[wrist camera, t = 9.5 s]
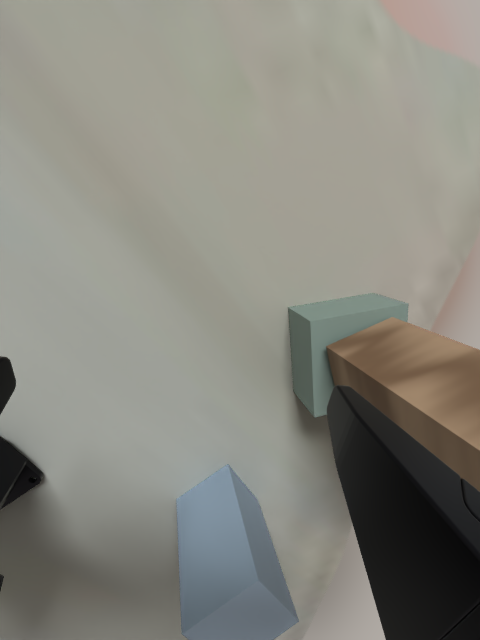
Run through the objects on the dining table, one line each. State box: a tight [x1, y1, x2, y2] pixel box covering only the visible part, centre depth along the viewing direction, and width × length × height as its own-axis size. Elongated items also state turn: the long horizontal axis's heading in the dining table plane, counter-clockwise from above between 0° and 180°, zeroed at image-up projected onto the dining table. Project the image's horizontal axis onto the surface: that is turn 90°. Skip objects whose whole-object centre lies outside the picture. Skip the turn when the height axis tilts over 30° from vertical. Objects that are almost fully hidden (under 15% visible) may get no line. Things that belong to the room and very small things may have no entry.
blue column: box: [176, 464, 299, 640], centre depth 22 cm, size 5×5×9 cm
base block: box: [288, 293, 408, 418], centre depth 23 cm, size 7×7×4 cm
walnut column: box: [326, 317, 480, 491], centre depth 15 cm, size 5×5×12 cm
